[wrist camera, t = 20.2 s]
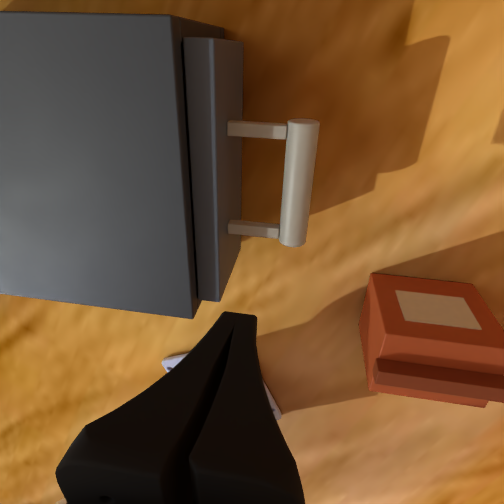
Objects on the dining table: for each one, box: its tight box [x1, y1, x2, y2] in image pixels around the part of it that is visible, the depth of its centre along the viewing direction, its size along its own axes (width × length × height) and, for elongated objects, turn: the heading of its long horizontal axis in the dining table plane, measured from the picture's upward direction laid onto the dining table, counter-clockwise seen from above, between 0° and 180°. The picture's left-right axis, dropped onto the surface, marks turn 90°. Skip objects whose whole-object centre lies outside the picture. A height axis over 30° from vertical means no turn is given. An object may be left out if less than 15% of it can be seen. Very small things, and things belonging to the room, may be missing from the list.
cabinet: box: [0, 11, 224, 319], centre depth 19 cm, size 14×13×8 cm
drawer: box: [181, 37, 320, 302], centre depth 18 cm, size 17×12×6 cm
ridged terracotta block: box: [359, 273, 504, 408], centre depth 21 cm, size 7×5×7 cm
